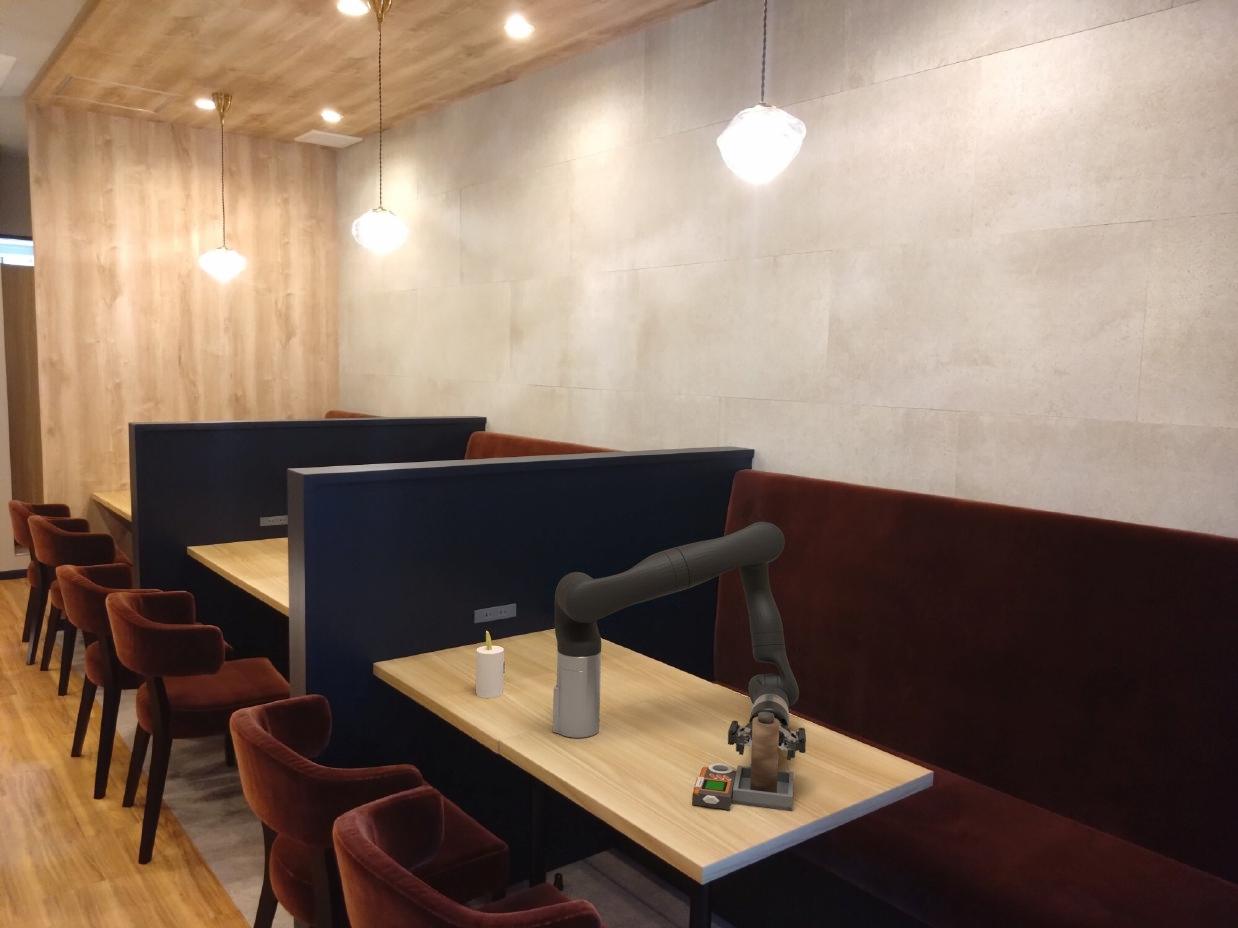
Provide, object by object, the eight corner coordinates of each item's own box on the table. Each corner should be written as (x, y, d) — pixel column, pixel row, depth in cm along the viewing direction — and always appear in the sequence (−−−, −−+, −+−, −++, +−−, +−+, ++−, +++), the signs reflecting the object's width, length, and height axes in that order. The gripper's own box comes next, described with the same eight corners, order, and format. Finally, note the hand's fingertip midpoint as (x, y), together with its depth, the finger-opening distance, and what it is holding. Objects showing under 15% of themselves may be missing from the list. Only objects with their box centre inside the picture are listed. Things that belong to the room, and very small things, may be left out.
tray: (732, 803, 161) (733, 789, 160) (737, 777, 171) (737, 764, 171) (792, 810, 159) (792, 796, 158) (793, 784, 169) (793, 771, 168)
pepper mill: (749, 794, 163) (751, 718, 161) (751, 782, 168) (753, 708, 166) (776, 797, 162) (779, 720, 160) (777, 785, 167) (780, 710, 165)
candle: (504, 697, 209) (505, 634, 207) (476, 698, 208) (476, 635, 206) (503, 688, 215) (504, 626, 213) (475, 688, 214) (476, 627, 212)
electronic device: (738, 763, 172) (729, 795, 157) (737, 779, 172) (729, 812, 158) (703, 759, 174) (691, 790, 159) (702, 774, 174) (690, 807, 159)
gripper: (733, 696, 179) (726, 727, 163) (807, 703, 176) (806, 736, 160) (732, 733, 180) (724, 767, 164) (805, 740, 177) (804, 777, 161)
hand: (765, 752), depth 162 cm, fingers open, 8 cm apart
